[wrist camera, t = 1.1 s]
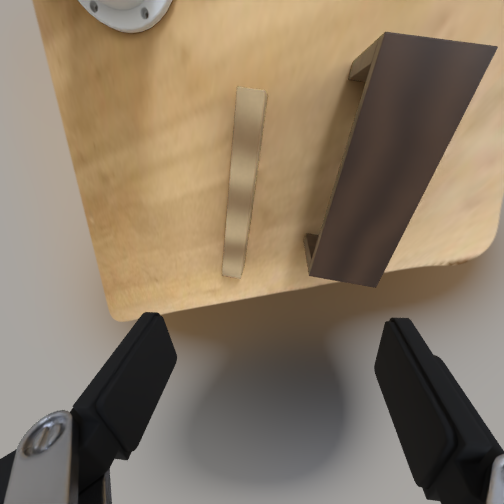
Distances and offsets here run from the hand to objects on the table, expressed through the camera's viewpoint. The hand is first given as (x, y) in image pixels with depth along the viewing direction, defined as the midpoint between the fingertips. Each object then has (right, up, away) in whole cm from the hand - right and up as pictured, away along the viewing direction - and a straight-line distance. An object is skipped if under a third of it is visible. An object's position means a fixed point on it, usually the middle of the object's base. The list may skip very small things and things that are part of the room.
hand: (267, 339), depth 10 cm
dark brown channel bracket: (+13, +14, +20) cm, 27 cm away
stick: (-2, +12, +23) cm, 26 cm away
